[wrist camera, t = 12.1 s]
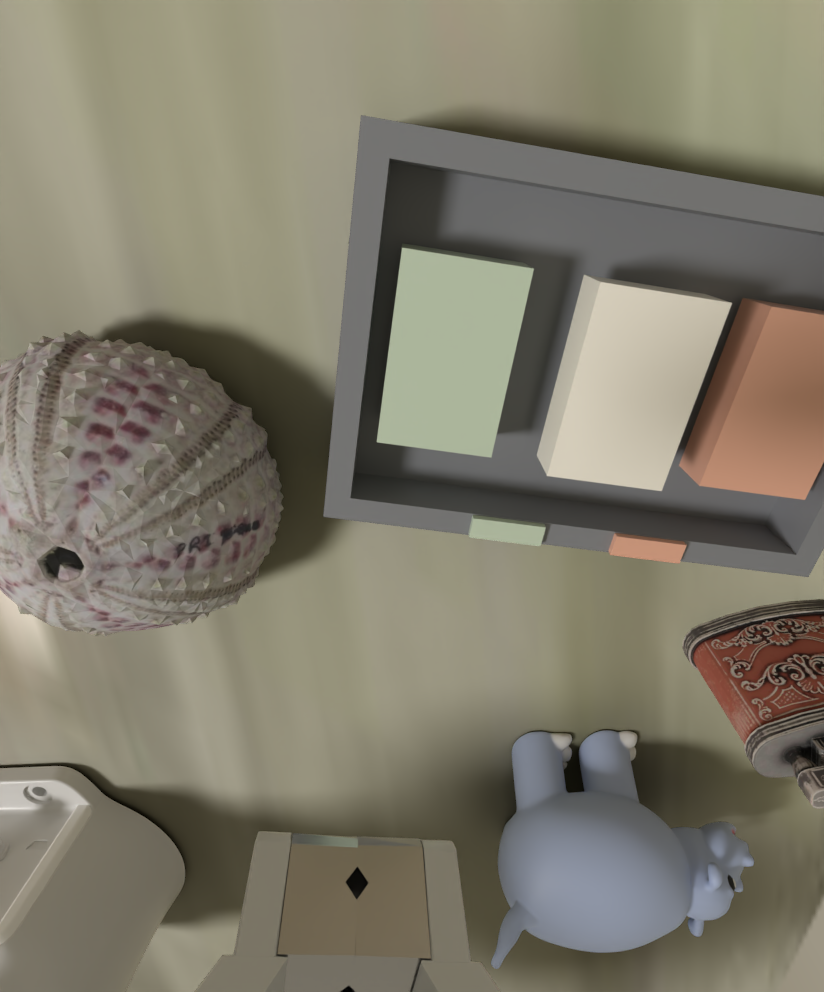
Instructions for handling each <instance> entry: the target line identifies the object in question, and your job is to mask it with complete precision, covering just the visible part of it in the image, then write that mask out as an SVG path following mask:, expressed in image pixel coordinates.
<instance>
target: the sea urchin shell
mask: <svg viewBox="0 0 824 992" xmlns="http://www.w3.org/2000/svg"><path fill="white" fill-rule="evenodd" d="M267 438H268V434H267V432H265V428H263V427H261V426H259V425H257V424H256V423H255V422H254V421H253V417H252V408H250V407H247V406H243V405H240V404H238V403H236V402H234V401H233V400H232V399H231V398H230V397H229V396H228V395H227V394H226V393H225V392H224V389H223V386H222V383H219V382H216V381H213V380H212V379H211V378H210V377H209V376H208V374H207V372H206V370H205V369H201V368H195V367H190V366H189V365H188V364H187V362H186V361H185V360H184V359H181V358H179V357H172V356H171V354H170V353H169V351H161V350H155V349H153V348H152V347H151V346H148V347H147V346H146V345H144V344H143V343H142V342H138V343H134V344H128V343H126V342H125V341H123V340H122V339H118V340H116V341H115V342H111V341H109V340H108V339H107V340H105V341H103V342H102V341H97V340H95V339H94V338H93V337H88V336H87V335H85V334H84V333H82V332H81V331H79V330H78V331H77V332H75V333H73V334H72V335H69V334H66V333H64V332H63V333H62V334H61V335H60V336H58V337H57V338H56V339H51V338H48V337H45V336H42V337H41V339H40V341H39V343H30V345H29V348H28V350H27V352H26V353H23V354H20V355H19V356H18V357H17V358H16V359H14V360H6V361H4V362H3V363H2V365H1V366H0V590H1V591H2V592H3V593H4V594H5V595H6V596H8V597H9V598H10V599H11V600H12V601H13V602H15V603H16V604H17V606H18V609H19V611H20V614H32V615H33V616H35V617H37V618H38V619H40V620H42V621H44V622H45V623H47V624H49V625H51V626H56V627H60V628H63V629H64V630H66V631H68V630H71V631H86V632H87V633H90V634H92V635H95V636H96V635H98V634H103V635H104V636H107V635H109V634H112V633H117V632H120V631H135V630H144V629H151V628H158V627H164V626H169V625H173V624H176V625H178V624H179V623H181V624H187V623H188V622H190V623H192V622H193V621H194V620H195V619H196V618H197V617H204V618H207V617H208V615H209V613H210V612H211V611H214V610H217V609H219V608H226V607H228V605H232V604H237V603H238V600H239V598H240V595H242V594H245V593H246V591H247V588H250V587H253V586H254V585H255V578H256V577H257V576H259V566H260V565H261V563H262V562H263V561H264V557H265V556H266V555H268V554H270V546H271V545H272V544H273V543H274V542H275V541H276V536H275V532H276V531H277V530H278V527H279V525H278V522H279V521H280V520H281V514H280V512H281V511H282V510H283V509H284V508H283V506H282V504H281V501H282V499H283V495H282V493H281V492H280V489H281V487H282V485H281V483H280V481H279V475H280V474H279V473H278V472H277V471H276V466H277V463H276V460H275V459H271V456H270V454H269V452H268V450H267V448H266V446H267Z"/></svg>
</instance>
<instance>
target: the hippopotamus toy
mask: <svg viewBox="0 0 824 992" xmlns="http://www.w3.org/2000/svg"><path fill="white" fill-rule="evenodd" d="M571 742H572V736H571V735H570V734H567V733H547V732H542V731H540V732H530V733H527V734H525V735H523V736H521V737H520V738H519V739H518V740H517V741H516V742H515V743H514V745H513V748H512V764H513V774H514V784H515V795H516V805H517V811H516V813H515V814H514V815H513V817H512V818H511V819H510V820H509V821H508V822H507V823H506V824H505V826H504V829H503V834H502V837H501V841H500V845H499V853H498V871H499V878H500V882H501V886H502V889H503V892H504V895H505V897H506V900H507V902H508V904H509V906H510V908H511V909H510V910H509V911H508V912H507V914H506V915H505V917H504V919H503V921H502V924H501V927H500V931H499V937H498V943H497V948H496V951H495V954H494V956H493V958H492V960H491V965H492V966H493V967H494V968H496V969H498V968H499V967H500V966H501V964H502V962H503V960H504V958H505V957H506V955H507V954H508V953H509V951H510V950H511V949H512V947H513V946H514V945H515V943H516V942H517V940H518V938H519V936H520V934H521V932H522V931H523V930H526V931H527V932H529V933H530V934H532V935H533V936H535V937H537V938H539V939H542V940H544V941H547V942H549V943H552V944H555V945H559V946H562V947H566V948H570V949H575V950H580V951H587V952H599V953H609V952H620V951H626V950H630V949H634V948H637V947H640V946H643V945H646V944H648V943H650V942H652V941H654V940H656V939H658V938H660V937H662V936H664V935H666V934H668V933H670V932H671V931H673V930H675V929H676V928H677V927H679V926H680V925H681V924H682V922H683V921H684V919H685V918H686V916H688V917H690V918H689V920H688V927H689V930H690V932H691V933H692V934H693V935H694V936H696V937H700V936H701V935H702V933H703V928H704V921H705V920H715V919H718V918H720V917H722V916H723V915H724V914H726V913H727V911H728V910H729V908H730V904H731V900H732V898H733V897H734V891H736V892H742V891H743V884H742V881H741V878H740V875H741V873H742V871H743V869H744V867H750V866H753V865H754V859H753V857H752V856H751V854H750V853H749V847H748V844H747V843H746V842H745V841H743V840H741V839H739V838H737V837H736V836H735V832H736V828H735V826H734V825H732V824H730V823H727V822H714V823H709V824H706V825H704V826H702V827H700V828H699V829H697V828H691V827H676V828H671V829H670V828H669V826H668V825H667V824H666V823H665V822H664V821H663V820H662V819H661V818H660V817H659V816H657V815H656V814H655V813H654V812H652V811H651V810H650V809H648V808H647V807H645V806H644V805H642V804H640V803H639V799H638V795H637V790H636V785H635V780H634V775H633V770H632V765H631V761H632V760H634V758H635V756H636V749H635V747H634V746H635V745H636V742H637V734H636V733H634V732H631V731H621V732H615V731H611V730H602V731H598V732H595V733H593V734H591V735H590V736H588V737H587V738H586V739H585V740H584V741H583V742H582V744H581V746H580V749H579V761H580V767H581V774H582V780H583V786H584V792H574V793H568V792H567V790H566V785H565V778H564V771H563V770H564V769H565V768H566V767H567V763H566V762H567V761H569V760H570V758H571V756H572V750H571V748H570V747H569V745H570V744H571Z"/></svg>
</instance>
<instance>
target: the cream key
mask: <svg viewBox="0 0 824 992" xmlns="http://www.w3.org/2000/svg"><path fill="white" fill-rule="evenodd" d="M731 305H732V303H731V302H728V301H725V300H722V299H719V298H716V297H713V296H710V295H707V294H702V293H696V292H690V291H684V290H677V289H671V288H665V287H658V286H652V285H646V284H640V283H633V282H627V281H621V280H615V279H608V278H602V277H596V276H590V275H584V277H583V280H582V284H581V288H580V292H579V296H578V299H577V303H576V307H575V311H574V315H573V319H572V322H571V326H570V330H569V334H568V338H567V341H566V345H565V349H564V353H563V357H562V360H561V364H560V368H559V372H558V376H557V380H556V383H555V387H554V391H553V395H552V399H551V402H550V406H549V410H548V414H547V418H546V422H545V425H544V429H543V433H542V437H541V441H540V444H539V448H538V452H537V457H538V459H539V461H540V463H541V465H542V467H543V469H544V471H545V473H546V475H547V476H551V477H558V478H566V479H573V480H581V481H588V482H596V483H603V484H611V485H618V486H626V487H633V488H641V489H648V490H656V491H662V489H663V486H664V484H665V481H666V478H667V476H668V473H669V470H670V468H671V465H672V462H673V460H674V457H675V454H676V452H677V449H678V446H679V444H680V441H681V438H682V436H683V433H684V430H685V428H686V425H687V422H688V420H689V417H690V414H691V412H692V409H693V406H694V404H695V401H696V398H697V396H698V393H699V390H700V387H701V385H702V382H703V379H704V377H705V374H706V371H707V369H708V366H709V363H710V361H711V358H712V355H713V353H714V350H715V347H716V345H717V342H718V339H719V337H720V334H721V331H722V329H723V326H724V323H725V321H726V318H727V315H728V313H729V310H730V307H731Z"/></svg>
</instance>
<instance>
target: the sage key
mask: <svg viewBox="0 0 824 992" xmlns="http://www.w3.org/2000/svg"><path fill="white" fill-rule="evenodd" d="M533 271H534V268H532V267H530V266H528V265H527V264H525V263H523V262H516V261H510V260H504V259H498V258H491V257H485V256H479V255H473V254H466V253H460V252H454V251H448V250H441V249H435V248H429V247H423V246H417V245H410V244H404V243H402V250H401V257H400V265H399V273H398V280H397V288H396V296H395V303H394V311H393V319H392V326H391V334H390V341H389V349H388V357H387V364H386V372H385V380H384V387H383V395H382V403H381V410H380V418H379V426H378V435H377V442H378V443H386V444H393V445H401V446H408V447H416V448H423V449H431V450H438V451H445V452H453V453H460V454H468V455H475V456H483V457H490V458H491V457H492V452H493V448H494V444H495V439H496V435H497V430H498V426H499V421H500V417H501V413H502V408H503V404H504V399H505V395H506V390H507V386H508V382H509V377H510V373H511V368H512V364H513V359H514V355H515V351H516V346H517V342H518V337H519V333H520V328H521V324H522V320H523V315H524V311H525V306H526V302H527V297H528V293H529V289H530V284H531V280H532V275H533Z"/></svg>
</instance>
